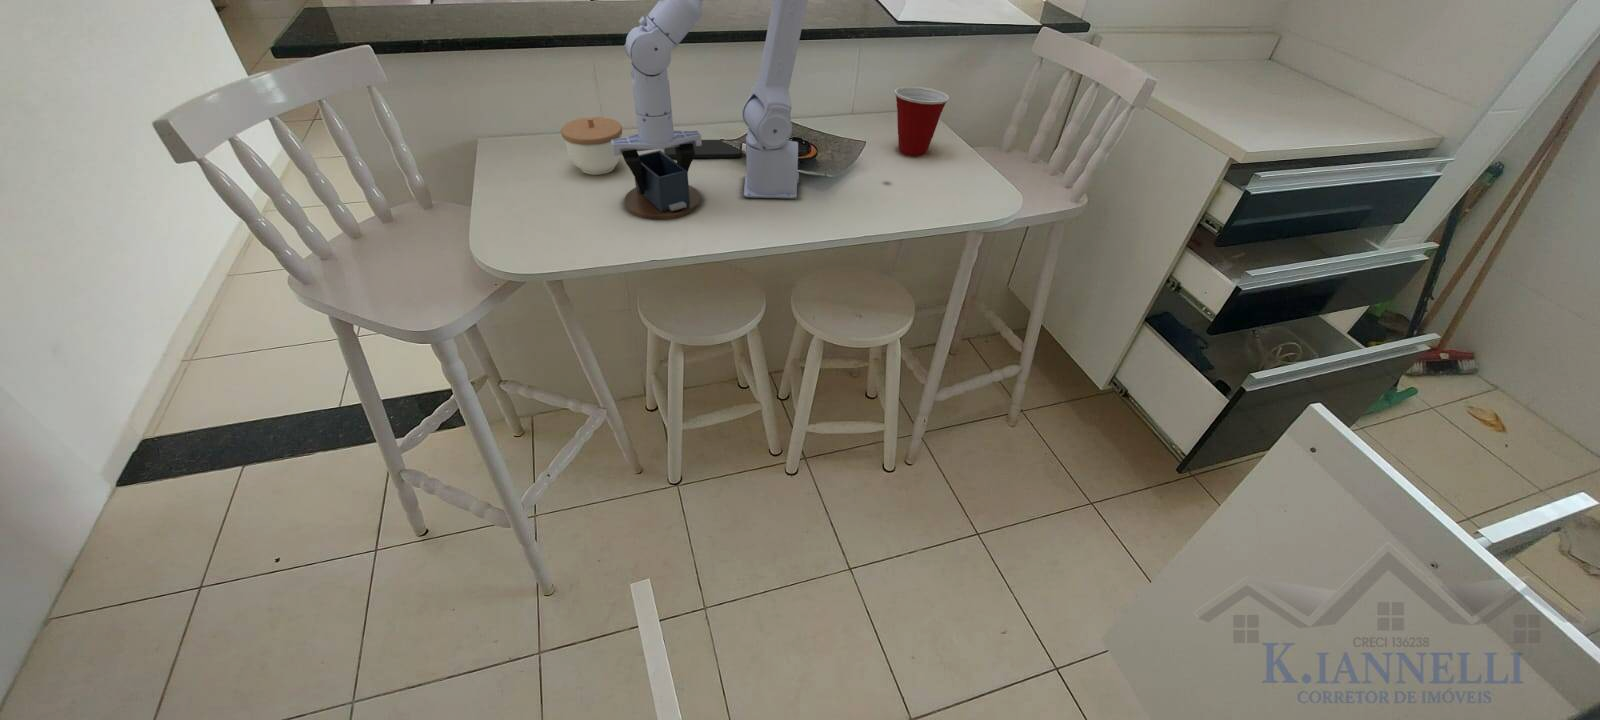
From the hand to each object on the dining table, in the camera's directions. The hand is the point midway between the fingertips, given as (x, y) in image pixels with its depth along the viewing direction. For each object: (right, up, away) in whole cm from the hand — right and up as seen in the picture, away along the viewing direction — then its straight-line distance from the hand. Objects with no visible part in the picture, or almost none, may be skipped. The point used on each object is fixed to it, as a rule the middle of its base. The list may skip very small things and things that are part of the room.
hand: (662, 189), depth 115 cm
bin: (0, -1, +1) cm, 2 cm away
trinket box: (-14, +7, +11) cm, 19 cm away
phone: (+4, +12, +18) cm, 23 cm away
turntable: (0, -2, +2) cm, 2 cm away
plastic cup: (+47, +14, +23) cm, 54 cm away
